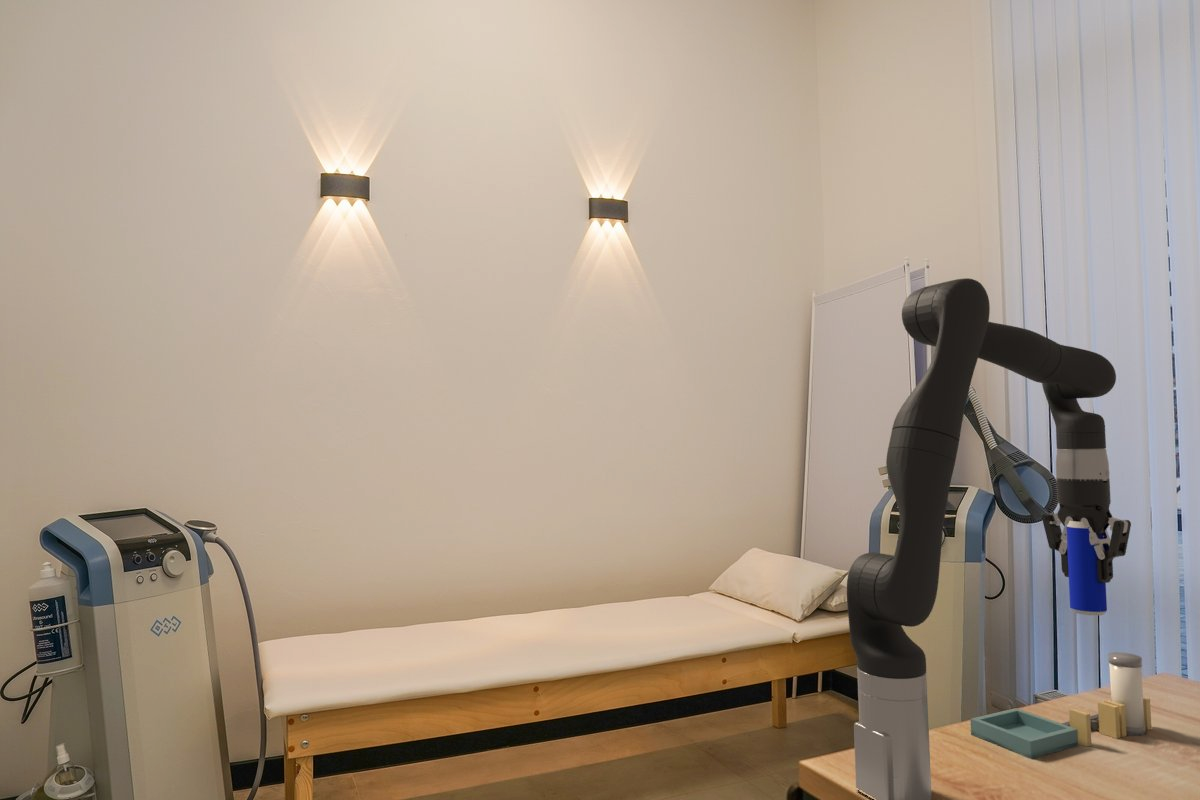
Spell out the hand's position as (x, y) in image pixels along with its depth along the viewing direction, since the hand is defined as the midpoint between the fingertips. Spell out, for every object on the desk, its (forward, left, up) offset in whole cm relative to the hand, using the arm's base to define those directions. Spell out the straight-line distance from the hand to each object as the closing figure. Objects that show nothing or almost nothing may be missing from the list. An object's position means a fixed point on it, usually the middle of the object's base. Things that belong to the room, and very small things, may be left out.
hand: (1087, 579), depth 128 cm
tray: (-10, +5, -26) cm, 28 cm away
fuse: (+9, 0, -26) cm, 27 cm away
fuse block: (+4, +1, -26) cm, 26 cm away
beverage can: (0, 0, -6) cm, 6 cm away
